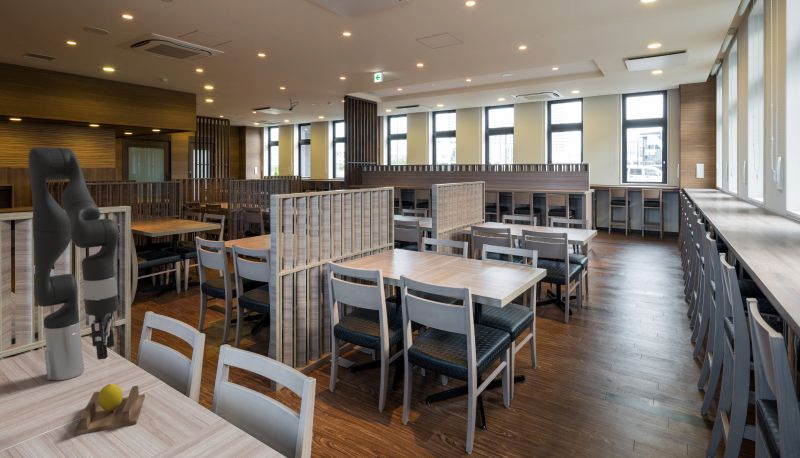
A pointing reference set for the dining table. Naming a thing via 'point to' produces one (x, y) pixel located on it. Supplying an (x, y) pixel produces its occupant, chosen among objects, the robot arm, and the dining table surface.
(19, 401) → the dining table surface
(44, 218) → the robot arm
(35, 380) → the dining table surface
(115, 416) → the cradle
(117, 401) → the lemon
